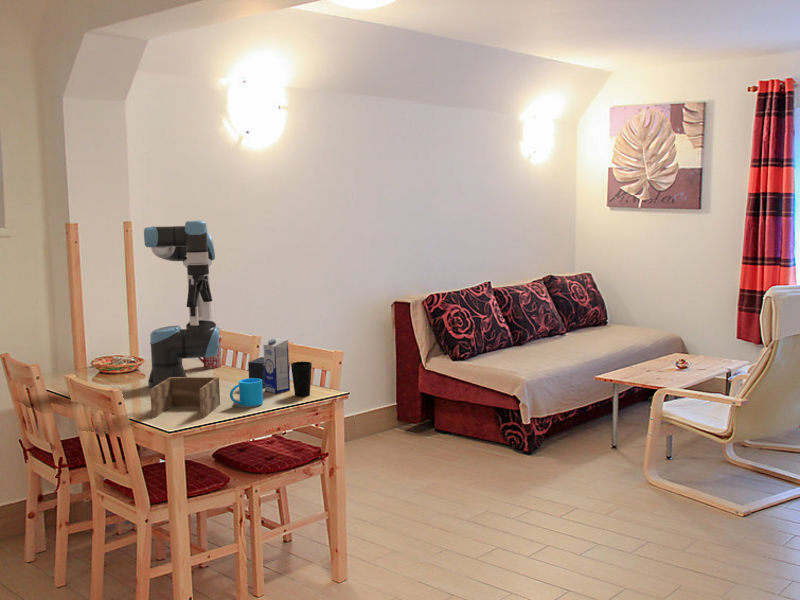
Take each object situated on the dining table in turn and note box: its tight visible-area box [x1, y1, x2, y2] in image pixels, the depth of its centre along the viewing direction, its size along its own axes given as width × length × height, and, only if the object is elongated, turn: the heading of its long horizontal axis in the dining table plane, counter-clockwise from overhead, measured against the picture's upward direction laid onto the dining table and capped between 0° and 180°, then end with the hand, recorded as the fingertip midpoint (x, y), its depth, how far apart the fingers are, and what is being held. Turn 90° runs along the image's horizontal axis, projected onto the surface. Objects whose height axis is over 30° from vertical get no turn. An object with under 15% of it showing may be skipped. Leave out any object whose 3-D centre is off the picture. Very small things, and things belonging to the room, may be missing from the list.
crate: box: [149, 376, 221, 419], centre depth 278 cm, size 18×18×10 cm
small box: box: [247, 356, 265, 389], centre depth 315 cm, size 11×6×10 cm, turn 161°
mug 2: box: [229, 377, 264, 406], centre depth 284 cm, size 12×8×8 cm
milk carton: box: [263, 337, 291, 395], centre depth 305 cm, size 7×7×20 cm
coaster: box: [232, 402, 262, 409], centre depth 286 cm, size 10×10×1 cm
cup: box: [290, 361, 313, 398], centre depth 298 cm, size 8×8×12 cm
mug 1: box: [198, 334, 223, 369], centre depth 352 cm, size 13×9×14 cm
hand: (200, 322), depth 291 cm, fingers open, 13 cm apart
